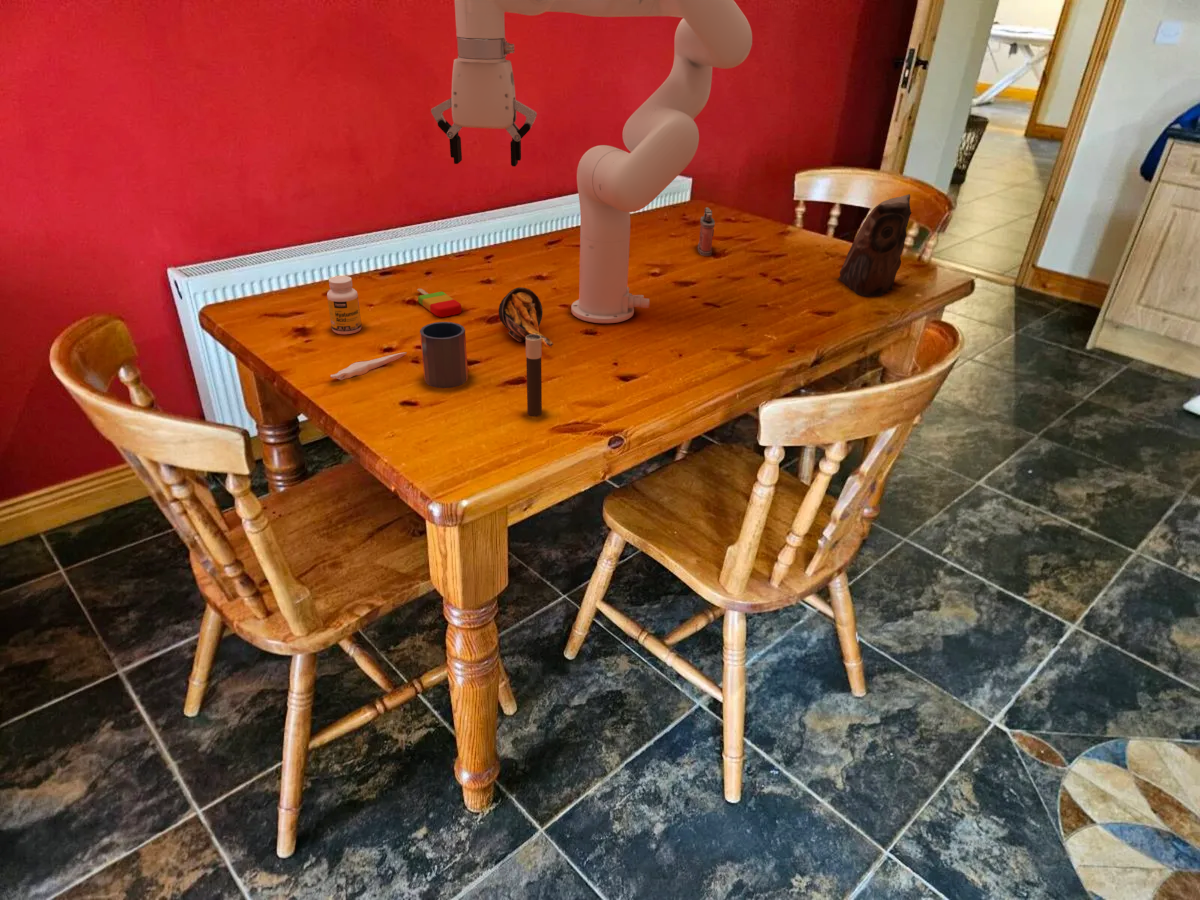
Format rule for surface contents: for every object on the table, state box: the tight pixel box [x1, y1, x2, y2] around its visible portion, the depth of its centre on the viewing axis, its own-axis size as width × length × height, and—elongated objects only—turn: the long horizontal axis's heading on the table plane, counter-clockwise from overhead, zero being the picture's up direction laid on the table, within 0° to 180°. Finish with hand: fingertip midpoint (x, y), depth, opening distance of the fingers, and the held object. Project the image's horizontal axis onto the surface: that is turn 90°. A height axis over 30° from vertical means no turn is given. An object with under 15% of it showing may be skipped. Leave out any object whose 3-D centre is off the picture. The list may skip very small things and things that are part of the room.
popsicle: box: [416, 288, 463, 318], centre depth 160 cm, size 6×15×2 cm, turn 36°
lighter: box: [697, 206, 716, 257], centre depth 194 cm, size 8×3×10 cm, turn 179°
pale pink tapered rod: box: [330, 351, 408, 381], centre depth 133 cm, size 15×3×2 cm, turn 139°
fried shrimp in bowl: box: [498, 286, 554, 349], centre depth 144 cm, size 9×11×18 cm
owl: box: [837, 193, 912, 298], centre depth 171 cm, size 13×13×20 cm
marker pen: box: [525, 334, 543, 418], centre depth 118 cm, size 2×2×13 cm
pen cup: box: [419, 321, 469, 389], centre depth 128 cm, size 7×7×9 cm
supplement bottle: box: [326, 275, 362, 335], centre depth 145 cm, size 5×5×10 cm
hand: (486, 163), depth 134 cm, fingers open, 9 cm apart
